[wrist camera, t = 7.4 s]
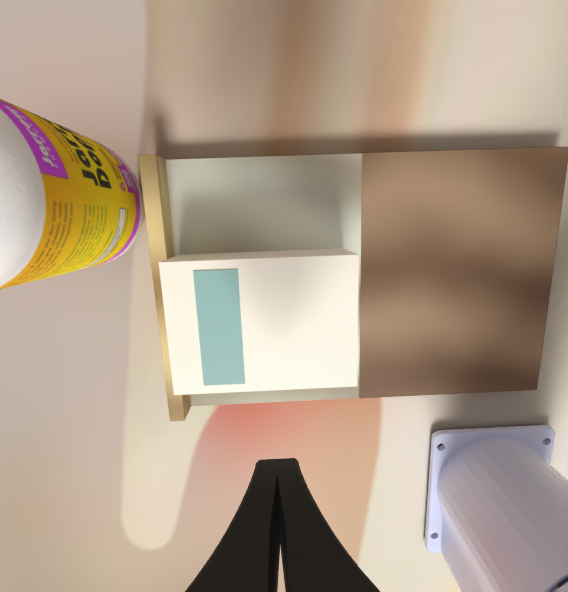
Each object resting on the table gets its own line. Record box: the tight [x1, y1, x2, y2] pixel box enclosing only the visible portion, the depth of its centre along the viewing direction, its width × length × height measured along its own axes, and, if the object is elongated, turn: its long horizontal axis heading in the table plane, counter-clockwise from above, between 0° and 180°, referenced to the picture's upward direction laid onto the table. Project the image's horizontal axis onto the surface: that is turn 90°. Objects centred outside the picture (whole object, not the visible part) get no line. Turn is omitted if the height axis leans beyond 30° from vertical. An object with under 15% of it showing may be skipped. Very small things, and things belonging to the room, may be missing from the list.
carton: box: [159, 248, 359, 395], centre depth 18 cm, size 6×9×4 cm
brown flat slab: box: [138, 147, 568, 421], centre depth 19 cm, size 14×22×2 cm, turn 92°
